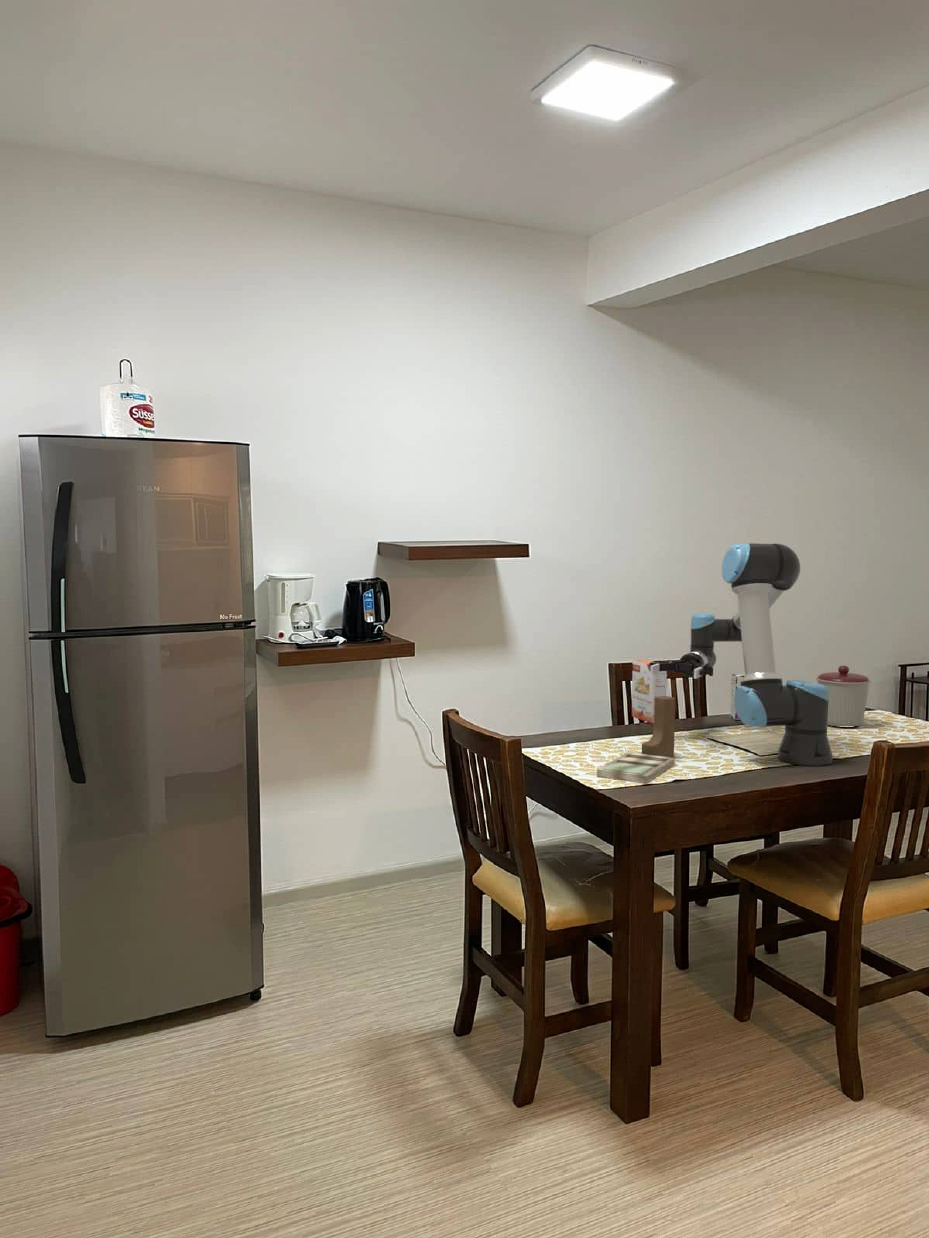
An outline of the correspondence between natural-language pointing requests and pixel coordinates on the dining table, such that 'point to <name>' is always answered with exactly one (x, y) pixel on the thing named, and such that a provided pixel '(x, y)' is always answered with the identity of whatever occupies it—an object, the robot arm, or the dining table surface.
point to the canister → (845, 696)
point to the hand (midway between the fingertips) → (673, 672)
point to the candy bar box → (734, 685)
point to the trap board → (636, 767)
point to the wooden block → (662, 728)
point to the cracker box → (646, 690)
